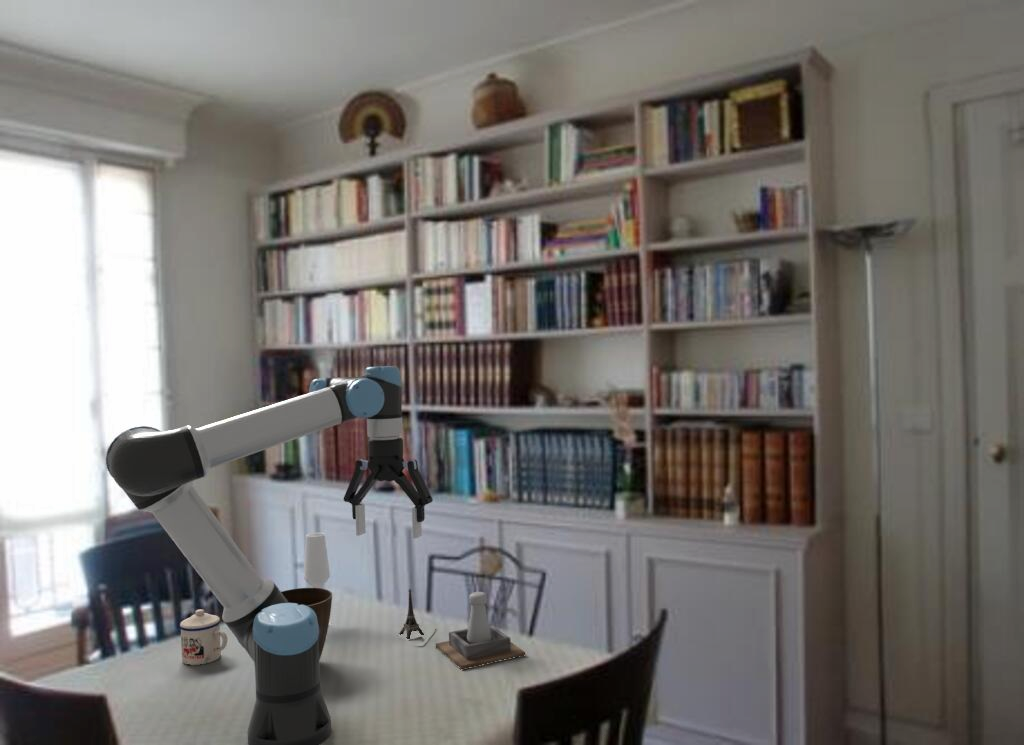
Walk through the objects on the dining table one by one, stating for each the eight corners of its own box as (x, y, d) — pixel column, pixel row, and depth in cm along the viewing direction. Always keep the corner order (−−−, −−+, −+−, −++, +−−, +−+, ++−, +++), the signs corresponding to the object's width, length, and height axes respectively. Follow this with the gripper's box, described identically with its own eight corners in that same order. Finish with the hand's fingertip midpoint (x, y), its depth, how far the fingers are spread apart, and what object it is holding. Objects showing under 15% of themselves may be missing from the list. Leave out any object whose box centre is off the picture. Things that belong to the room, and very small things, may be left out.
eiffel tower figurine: (424, 649, 196) (422, 594, 196) (384, 648, 198) (381, 593, 198) (440, 628, 211) (438, 577, 211) (403, 627, 213) (401, 576, 213)
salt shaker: (462, 650, 191) (460, 595, 191) (475, 641, 196) (473, 588, 196) (484, 653, 188) (482, 597, 188) (496, 645, 193) (494, 591, 193)
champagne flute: (324, 618, 220) (321, 530, 220) (336, 624, 215) (332, 534, 214) (301, 624, 216) (297, 534, 215) (312, 630, 211) (309, 538, 210)
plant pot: (311, 682, 177) (308, 609, 177) (253, 675, 182) (251, 604, 182) (346, 657, 192) (344, 589, 191) (292, 651, 196) (290, 585, 196)
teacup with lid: (172, 663, 191) (170, 614, 190) (199, 650, 199) (197, 603, 199) (213, 669, 187) (211, 619, 186) (240, 655, 195) (238, 606, 195)
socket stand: (525, 656, 189) (524, 639, 188) (461, 670, 182) (460, 652, 181) (496, 635, 203) (495, 619, 203) (435, 647, 196) (435, 631, 196)
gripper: (445, 436, 175) (448, 534, 175) (343, 435, 183) (347, 529, 184) (430, 439, 168) (434, 542, 168) (325, 439, 176) (329, 536, 177)
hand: (388, 535), depth 176 cm, fingers open, 13 cm apart
